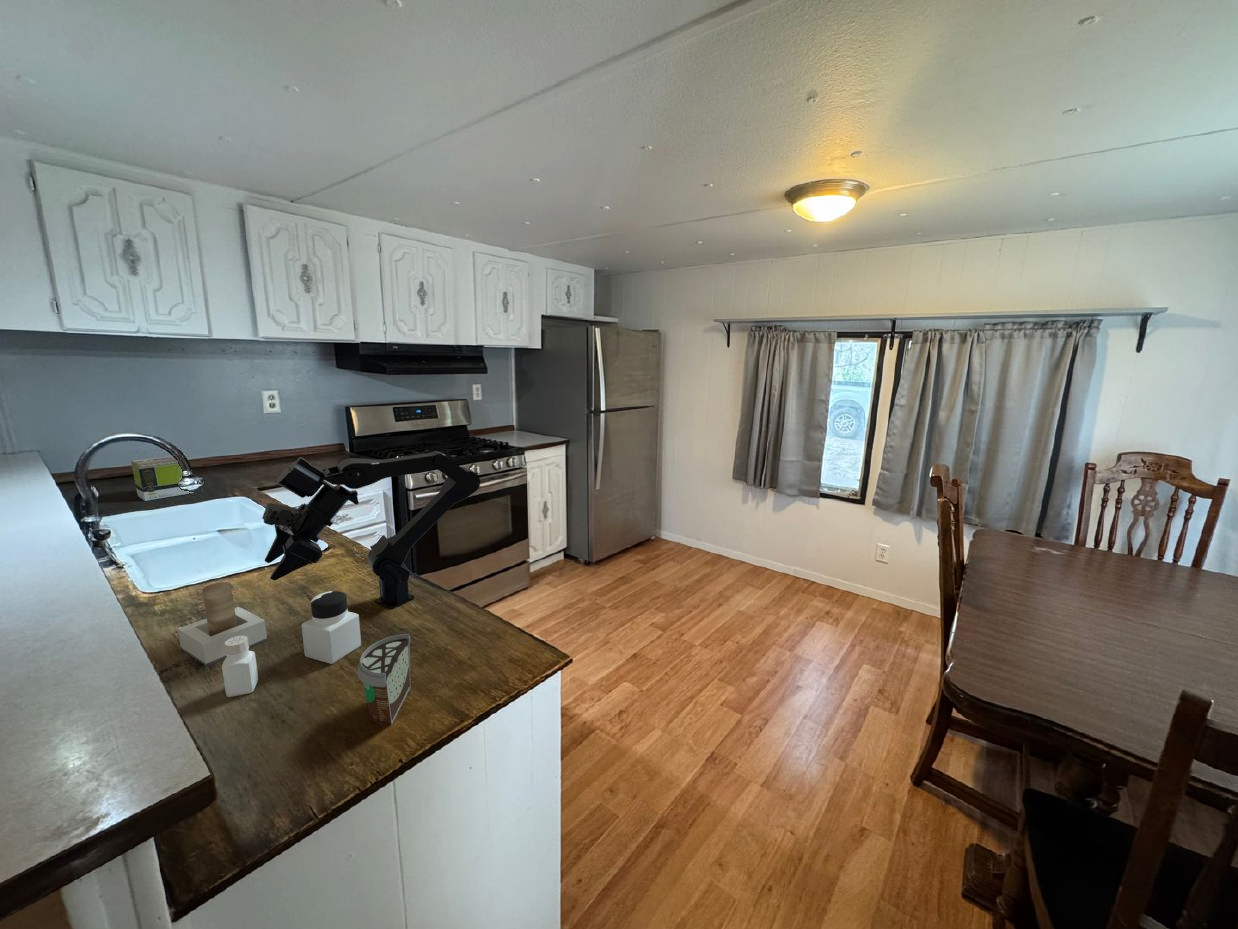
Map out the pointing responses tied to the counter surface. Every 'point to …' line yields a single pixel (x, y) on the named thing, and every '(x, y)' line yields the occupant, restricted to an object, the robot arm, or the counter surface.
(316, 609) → the medicine bottle
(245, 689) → the pepper shaker
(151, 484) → the tea box
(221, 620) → the oak plug peg
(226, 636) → the socket block
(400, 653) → the food container
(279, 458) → the counter surface
